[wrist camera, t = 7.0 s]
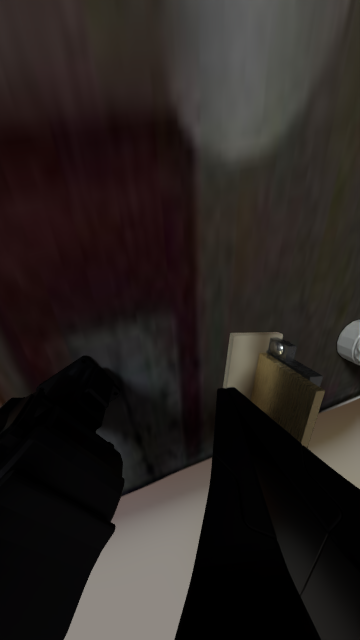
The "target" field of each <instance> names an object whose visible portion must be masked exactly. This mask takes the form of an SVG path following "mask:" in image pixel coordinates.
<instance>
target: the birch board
mask: <svg viewBox="0 0 360 640" xmlns="http://www.w3.org/2000/svg"><path fill="white" fill-rule="evenodd" d="M275 337H278V338H280V339H282V337H283V334H281V333H278V332H259V333H230V340H229V347H228V355H227V362H226V370H225V377H224V384H223V388H228V387H235V388H236V389H237V390H239V391H240V392H241V393H242V394H243V395H245V396H246V397H247V398H248V399H249V400H251V396H252V390H253V385H254V379H255V374H256V369H257V363H258V358H259V353H265V352H266V351H267V350H268V347H269V342H270V338H275Z"/></svg>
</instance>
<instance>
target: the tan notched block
mask: <svg viewBox="0 0 360 640" xmlns="http://www.w3.org/2000/svg"><path fill="white" fill-rule="evenodd" d="M324 393H325V390H323V389H322V388H320V387H319V386H317V385H316V384H314V383H312V382H311V381H309V380H308V379H306V378H305V377H303V376H302V375H300V374H299V373H297V372H295V371H294V370H292V369H291V368H289V367H288V366H286V365H285V364H283V363H282V362H280V361H278V360H277V359H275V358H274V357H272V356H271V355H269V354H268V353H266V352H265V353H259V358H258V363H257V369H256V374H255V379H254V385H253V390H252V396H251V401H252V402H253V403H254V404H255V405H256V406H258V407H259V408H260V409H261V410H262V411H264V412H265V413H266V414H267V415H268V416H270V417H271V418H272V419H273V420H274V421H275V422H277V423H278V424H279V425H280V426H281V427H283V428H284V429H285V430H286V431H287V432H288V433H290V434H291V435H292V436H293V437H294V438H296V439H297V440H298V441H299V442H300V443H301V444H302V446H303V445H304V446H305V447H306V448H308V444H309V441H310V438H311V435H312V432H313V428H314V425H315V422H316V419H317V415H318V412H319V409H320V406H321V403H322V399H323V396H324Z"/></svg>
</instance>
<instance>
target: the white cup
mask: <svg viewBox="0 0 360 640" xmlns="http://www.w3.org/2000/svg"><path fill="white" fill-rule="evenodd" d="M337 352H338V353H339V354H340V356H341V357H342V358H344V359H347V360H349V361H351V362H353V363H355V364H358V365H360V320H356V321H353V322H351V323H350V324H349V325H347V326H346V327H345V328H344V330H343V331H342V332H341V334H340V335H339V338H338V342H337Z"/></svg>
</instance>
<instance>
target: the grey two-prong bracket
mask: <svg viewBox="0 0 360 640" xmlns="http://www.w3.org/2000/svg"><path fill="white" fill-rule="evenodd" d="M296 347H297V346H295V345H293V344H291V343H290V342H289V341H285V340H282V339H280V338H278V337H275V338H270V342H269V347H268V350H267V351H266V353H268V354H269V355H271V356H272V357H274V358H275V359H277V360H278V361H280V362H282V363H283V364H285V365H286V366H288V367H289V368H291V369H292V370H294V371H295V372H297V373H299V374H300V375H302V376H303V377H305V378H306V379H308V380H309V381H311V382H312V383H314V384H316V385H317V386H319V387H320V384H321V381H322V378H323V376H322V375H320V374H318V373H317V372H315V371H313V370H311V369H310V368H308V367H306V366H305V365H303V364H301V363H299V362H298V361H296V360H294V355H295V351H296Z"/></svg>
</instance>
